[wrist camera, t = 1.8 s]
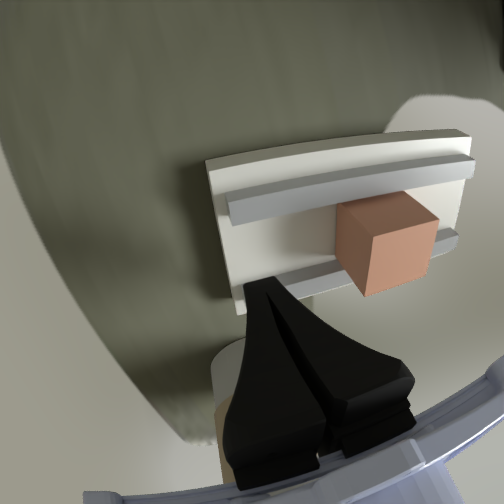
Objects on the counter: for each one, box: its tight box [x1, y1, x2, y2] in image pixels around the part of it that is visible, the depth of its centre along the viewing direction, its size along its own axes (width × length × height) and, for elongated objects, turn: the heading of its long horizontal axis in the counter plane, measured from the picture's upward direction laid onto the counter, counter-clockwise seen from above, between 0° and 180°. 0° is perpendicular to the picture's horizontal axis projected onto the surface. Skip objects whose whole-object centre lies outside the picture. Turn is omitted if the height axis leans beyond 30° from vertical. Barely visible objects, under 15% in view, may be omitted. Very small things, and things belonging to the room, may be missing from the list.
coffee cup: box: [211, 338, 319, 496], centre depth 19 cm, size 9×9×15 cm
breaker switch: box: [335, 190, 440, 297], centre depth 16 cm, size 4×4×4 cm
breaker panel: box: [205, 129, 476, 315], centre depth 17 cm, size 16×9×2 cm, turn 97°
